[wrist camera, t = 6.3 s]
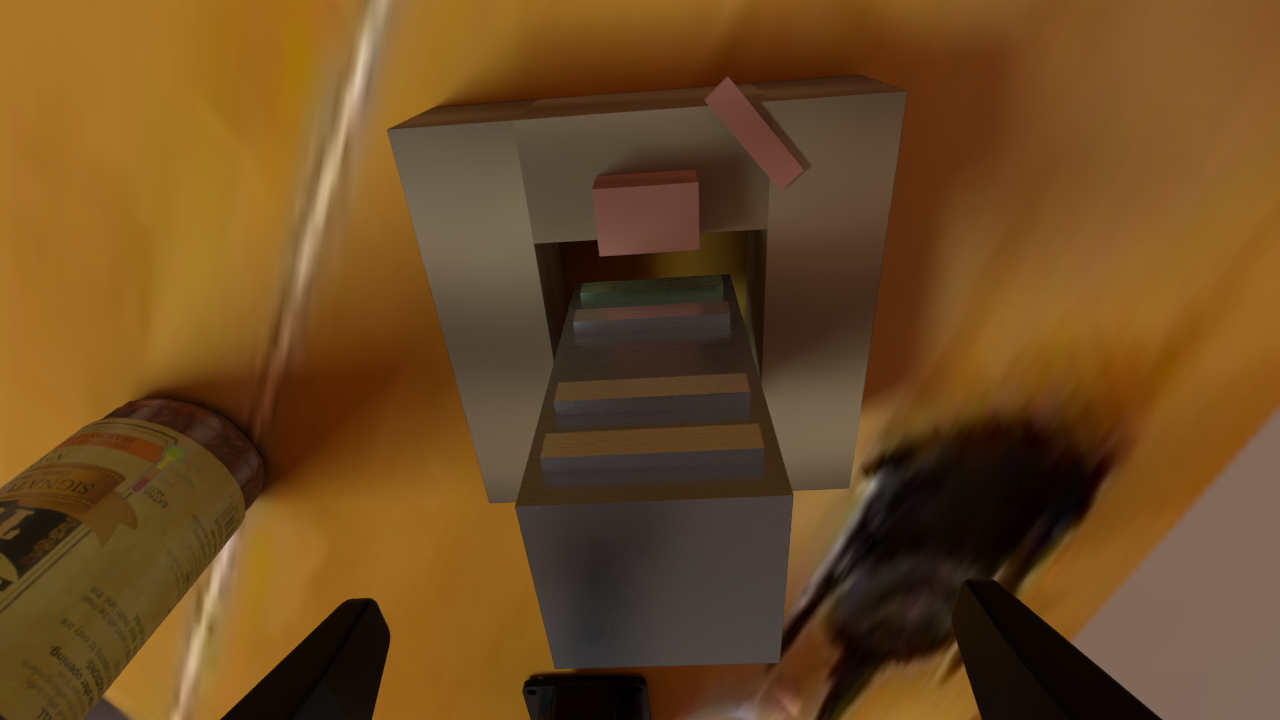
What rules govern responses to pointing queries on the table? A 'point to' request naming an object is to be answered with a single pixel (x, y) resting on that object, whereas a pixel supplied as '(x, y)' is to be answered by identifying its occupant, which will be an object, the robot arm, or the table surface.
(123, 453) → the sauce bottle
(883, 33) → the table surface
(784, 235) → the stand base
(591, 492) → the column
